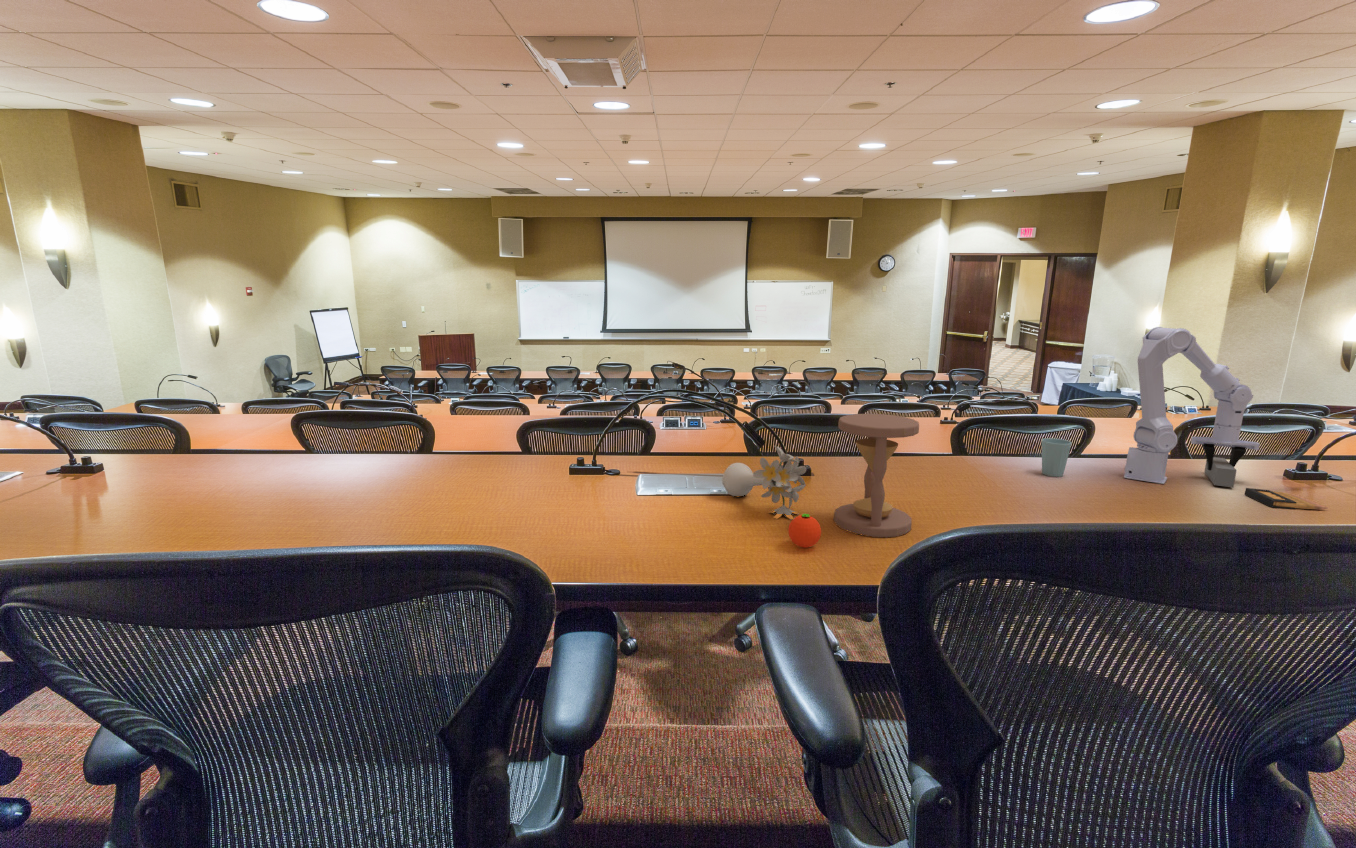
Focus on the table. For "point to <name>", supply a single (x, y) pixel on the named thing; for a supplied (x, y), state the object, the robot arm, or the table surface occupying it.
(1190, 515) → the table surface
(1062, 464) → the cup
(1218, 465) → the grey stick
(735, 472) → the flower vase
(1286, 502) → the ammunition clip
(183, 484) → the table surface
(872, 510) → the hourglass
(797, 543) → the clementine
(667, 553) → the table surface
